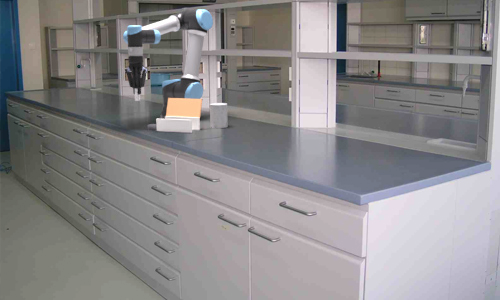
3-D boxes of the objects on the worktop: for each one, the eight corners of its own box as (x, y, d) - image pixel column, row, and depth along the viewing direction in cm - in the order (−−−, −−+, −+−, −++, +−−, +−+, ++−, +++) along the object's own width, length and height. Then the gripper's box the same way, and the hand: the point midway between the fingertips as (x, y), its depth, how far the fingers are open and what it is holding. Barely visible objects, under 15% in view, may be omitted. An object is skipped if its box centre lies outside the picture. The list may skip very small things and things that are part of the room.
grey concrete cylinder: (216, 128, 290) (215, 105, 288) (206, 126, 298) (206, 103, 295) (231, 126, 295) (230, 104, 293) (221, 124, 303) (220, 102, 301)
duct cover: (165, 116, 292) (166, 116, 293) (199, 117, 285) (200, 118, 286) (168, 97, 294) (169, 98, 295) (201, 98, 286) (202, 99, 287)
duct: (166, 128, 294) (165, 116, 292) (199, 129, 286) (199, 117, 285) (156, 131, 284) (156, 118, 283) (191, 132, 277) (190, 120, 276)
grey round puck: (151, 128, 295) (151, 123, 294) (161, 128, 293) (161, 124, 292) (145, 130, 289) (145, 125, 288) (155, 130, 287) (155, 126, 286)
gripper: (120, 55, 285) (123, 100, 289) (142, 55, 280) (144, 101, 285) (129, 55, 292) (131, 99, 296) (150, 55, 287) (152, 100, 292)
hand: (137, 100), depth 291 cm, fingers closed
